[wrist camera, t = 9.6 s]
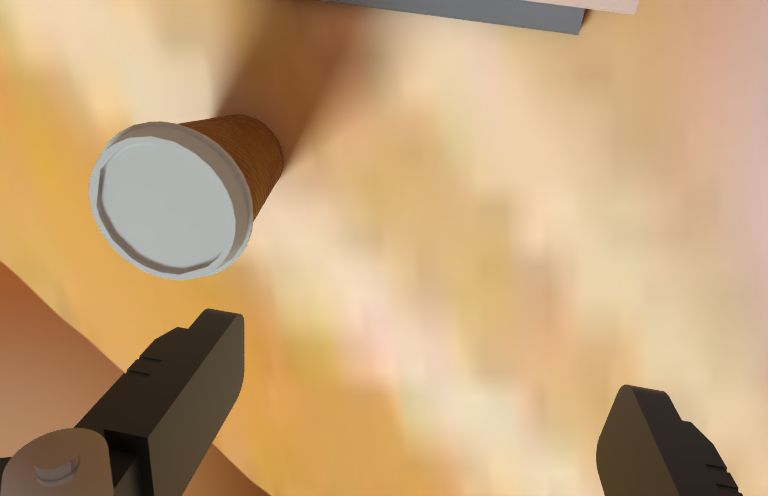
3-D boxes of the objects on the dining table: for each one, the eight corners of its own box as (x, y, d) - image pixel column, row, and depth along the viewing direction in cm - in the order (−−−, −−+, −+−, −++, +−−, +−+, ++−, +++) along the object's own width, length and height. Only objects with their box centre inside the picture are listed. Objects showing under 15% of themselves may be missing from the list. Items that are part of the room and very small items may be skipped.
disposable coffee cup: (240, 64, 37) (147, 88, 26) (329, 167, 39) (278, 228, 28) (159, 146, 40) (49, 197, 29) (246, 236, 42) (173, 314, 32)
